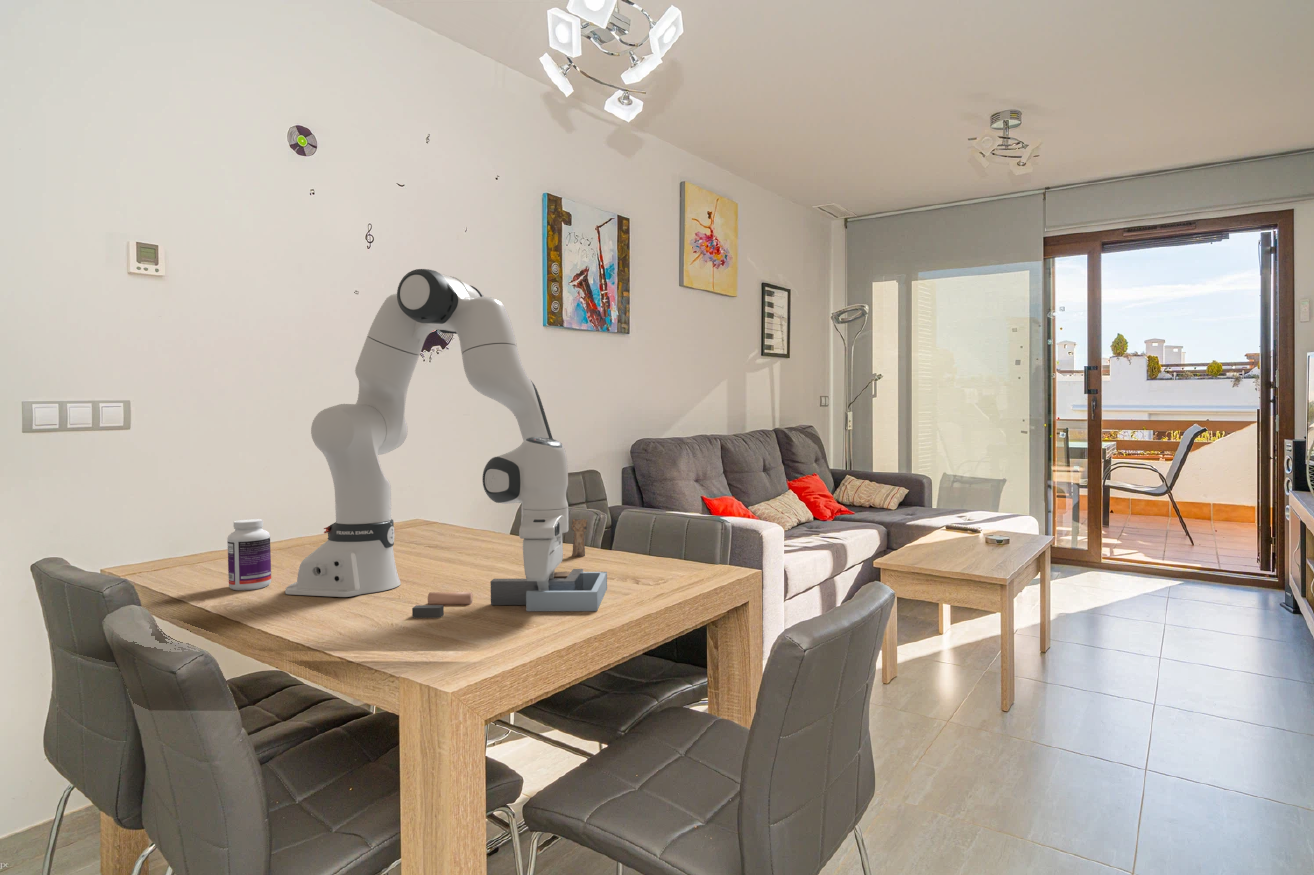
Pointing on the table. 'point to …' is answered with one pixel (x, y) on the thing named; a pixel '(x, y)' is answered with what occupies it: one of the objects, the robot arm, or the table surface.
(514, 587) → the crook tool
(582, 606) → the blue-grey tray
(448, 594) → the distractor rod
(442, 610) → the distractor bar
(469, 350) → the robot arm
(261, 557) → the pill bottle
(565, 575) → the cube
